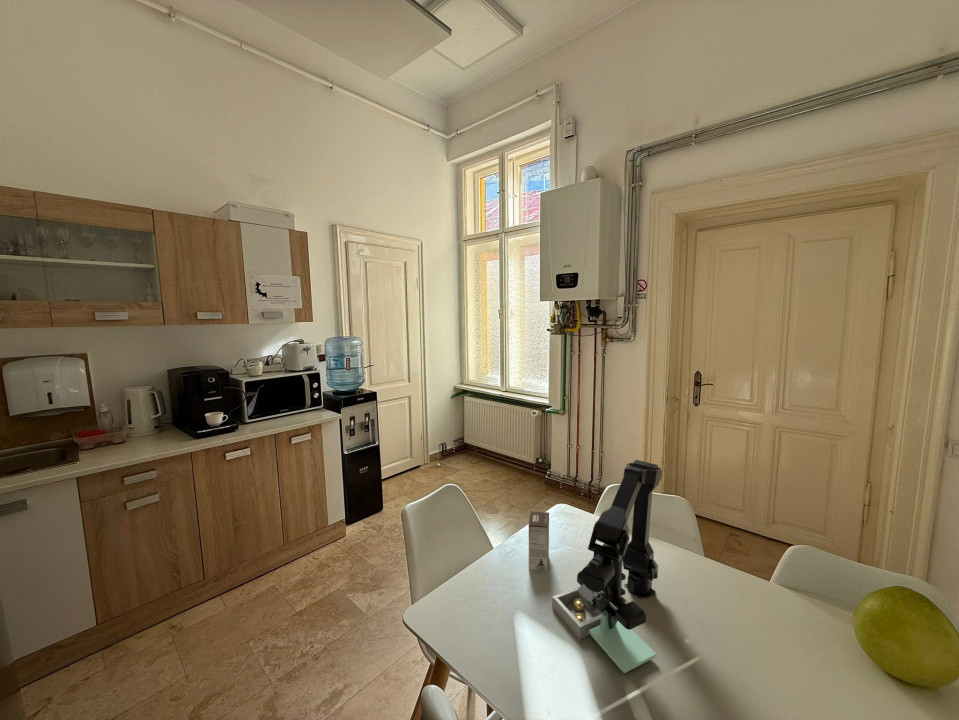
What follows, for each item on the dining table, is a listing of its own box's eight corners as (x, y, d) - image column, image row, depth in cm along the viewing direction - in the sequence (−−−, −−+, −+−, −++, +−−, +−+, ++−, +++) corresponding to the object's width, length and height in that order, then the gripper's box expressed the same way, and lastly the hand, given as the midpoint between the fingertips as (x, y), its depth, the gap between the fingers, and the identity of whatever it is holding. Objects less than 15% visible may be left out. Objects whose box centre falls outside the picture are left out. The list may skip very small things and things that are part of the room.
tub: (580, 598, 115) (580, 585, 114) (610, 627, 104) (610, 614, 103) (552, 609, 111) (552, 596, 110) (579, 641, 100) (580, 627, 99)
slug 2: (580, 618, 107) (580, 611, 106) (588, 626, 104) (588, 619, 104) (571, 621, 105) (571, 615, 105) (578, 629, 103) (578, 623, 102)
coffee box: (530, 553, 136) (530, 510, 134) (549, 556, 135) (549, 511, 133) (528, 571, 127) (528, 524, 125) (548, 573, 126) (548, 526, 124)
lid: (618, 619, 104) (619, 601, 103) (656, 656, 93) (657, 637, 92) (588, 632, 99) (589, 614, 99) (624, 673, 89) (625, 653, 88)
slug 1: (579, 603, 112) (579, 596, 112) (586, 610, 109) (586, 603, 109) (571, 606, 111) (571, 600, 110) (578, 613, 108) (578, 607, 108)
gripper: (560, 557, 103) (560, 611, 105) (612, 604, 86) (610, 668, 88) (594, 546, 108) (593, 598, 110) (649, 589, 91) (646, 649, 93)
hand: (608, 625), depth 100 cm, fingers closed on lid
